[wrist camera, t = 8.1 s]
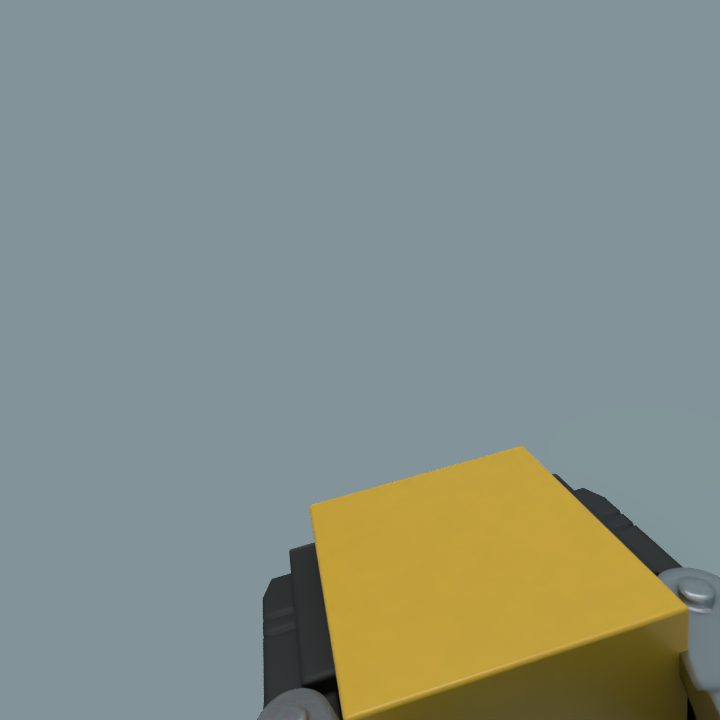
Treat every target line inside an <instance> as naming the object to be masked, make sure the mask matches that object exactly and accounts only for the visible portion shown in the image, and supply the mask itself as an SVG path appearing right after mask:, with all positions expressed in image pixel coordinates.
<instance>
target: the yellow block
mask: <svg viewBox="0 0 720 720" xmlns="http://www.w3.org/2000/svg"><path fill="white" fill-rule="evenodd" d="M310 515H311V521H312V528H313V533H314V540H315V547H316V553H317V559H318V565H319V572H320V578H321V584H322V591H323V597H324V603H325V609H326V616H327V622H328V628H329V635H330V641H331V647H332V653H333V660H334V666H335V672H336V679H337V685H338V691H339V697H340V704H341V710H342V716H343V720H687V697H688V695H687V693H686V691H685V688H684V686H683V683H682V681H681V679H680V676H679V653H681V652H684V651H686V650H687V649H688V637H689V610H688V607H687V606H686V605H685V604H684V603H683V602H682V601H681V600H680V599H679V598H678V597H677V596H676V595H675V594H674V593H673V592H672V591H671V590H670V589H669V588H668V587H667V586H666V585H665V584H664V583H663V582H662V581H661V580H660V579H659V578H658V577H657V576H656V575H655V574H654V573H653V572H652V571H651V570H649V569H648V568H647V567H646V566H645V565H644V564H643V563H642V562H641V561H640V560H639V559H638V558H637V557H636V556H635V555H634V554H633V553H632V552H631V551H630V550H629V549H628V548H627V547H626V546H625V545H624V544H623V543H622V542H621V541H620V540H619V539H618V538H617V537H616V536H615V535H614V534H613V533H611V532H610V531H609V530H608V529H607V528H606V527H605V526H604V525H603V524H602V523H601V522H600V521H599V520H598V519H597V518H596V517H595V516H594V515H593V514H592V513H591V512H590V511H589V510H588V509H587V508H586V507H585V506H584V505H583V504H582V503H581V502H580V501H579V500H578V499H577V498H576V497H575V496H573V495H572V494H571V493H570V492H569V491H568V490H567V489H566V488H565V487H564V486H563V485H562V484H561V483H560V482H559V481H558V480H557V479H556V478H555V477H554V476H553V475H552V474H551V473H550V472H549V471H548V470H547V469H546V468H545V467H544V466H543V465H541V463H540V462H538V461H537V460H536V459H535V458H534V457H533V456H532V455H531V454H530V453H529V452H528V451H527V450H526V449H525V448H524V447H522V446H520V447H517V448H513V449H509V450H506V451H502V452H499V453H495V454H491V455H488V456H484V457H481V458H477V459H474V460H470V461H467V462H463V463H459V464H456V465H452V466H449V467H445V468H442V469H438V470H434V471H431V472H428V473H424V474H420V475H417V476H413V477H410V478H406V479H402V480H399V481H395V482H392V483H388V484H385V485H381V486H378V487H374V488H371V489H367V490H363V491H360V492H356V493H353V494H349V495H345V496H342V497H339V498H335V499H331V500H328V501H324V502H321V503H317V504H313V505H311V506H310Z"/></svg>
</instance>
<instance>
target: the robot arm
mask: <svg viewBox="0 0 720 720" xmlns="http://www.w3.org/2000/svg"><path fill="white" fill-rule="evenodd" d="M552 475H553V476H554V477H555V478H556V479H557V480H558V481H559V482H560V483H561V484H562V485H563V486H564V487H565V488H566V489H567V490H568V491H569V492H570V493H571V494H572V495H573V496H575V497H576V498H577V499H578V500H579V501H580V502H581V503H582V504H583V505H584V506H585V507H586V508H587V509H588V510H589V511H590V512H591V513H592V514H593V515H594V516H595V517H596V518H597V519H598V520H599V521H600V522H601V523H602V524H603V525H604V526H605V527H606V528H607V529H608V530H609V531H610V532H611V533H613V534H614V535H615V536H616V537H617V538H618V539H619V540H620V541H621V542H622V543H623V544H624V545H625V546H626V547H627V548H628V549H629V550H630V551H631V552H632V553H633V554H634V555H635V556H636V557H637V558H638V559H639V560H640V561H641V562H642V563H643V564H644V565H645V566H646V567H647V568H648V569H649V570H651V571H652V572H653V573H654V574H655V575H656V576H657V577H658V578H659V579H660V580H661V581H662V582H663V583H664V584H665V585H666V586H667V587H668V588H669V589H670V590H671V591H672V592H673V593H674V594H675V595H676V596H677V597H678V598H679V599H680V600H681V601H682V602H683V603H684V604H685V605H686V606H687V607H688V610H689V637H688V649H687V650H686V651H684V652H681V653H679V676H680V679H681V681H682V683H683V686H684V688H685V691H686V693H687V695H688V697H687V720H720V578H719V577H718V576H716V575H713V574H711V573H709V572H706V571H703V570H699V569H694V568H683V567H682V566H681V565H680V564H678V563H677V562H676V561H675V560H674V559H673V558H672V557H671V556H669V555H668V554H667V553H666V552H665V551H664V550H663V549H662V548H660V547H659V546H658V545H657V544H656V543H655V542H654V541H652V540H651V539H650V538H649V537H648V536H647V535H646V534H645V533H644V532H642V531H641V530H640V529H639V528H638V527H637V526H634V525H633V523H632V522H631V521H630V520H629V519H628V518H627V517H626V516H624V514H621V513H620V511H619V510H618V509H617V508H616V507H614V506H613V505H612V504H611V503H610V502H609V501H608V500H607V499H606V498H605V497H602V496H600V495H598V494H596V493H593V492H591V491H589V490H587V489H584V488H581V489H578V490H575V491H574V490H573V489H572V488H571V487H570V486H569V485H567V483H566V482H564V481H563V480H562V479H561V478H560V477H559V476H558V475H556V474H552ZM289 553H290V565H291V574H287V575H284V576H281V577H277V578H274V579H272V580H271V582H270V584H269V586H268V588H267V591H266V593H265V595H264V597H263V620H264V622H263V635H264V639H263V653H264V655H263V656H264V708H263V711H262V712H261V714H260V715H259V717H258V719H257V720H343V716H342V710H341V704H340V697H339V691H338V685H337V679H336V672H335V666H334V660H333V653H332V647H331V641H330V635H329V628H328V622H327V616H326V609H325V603H324V597H323V591H322V584H321V578H320V572H319V565H318V559H317V553H316V547H315V543H311V544H308V545H304V546H301V547H298V548H294V549H291V550H290V551H289Z"/></svg>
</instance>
